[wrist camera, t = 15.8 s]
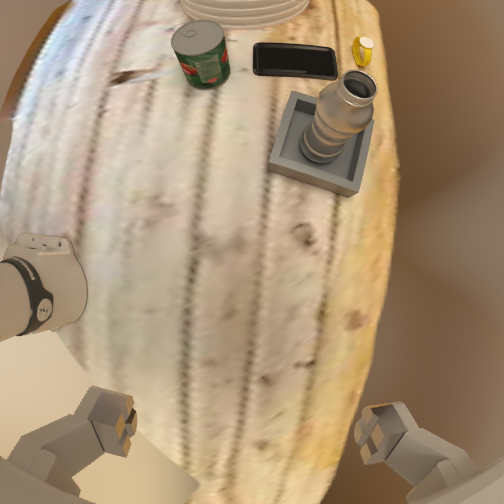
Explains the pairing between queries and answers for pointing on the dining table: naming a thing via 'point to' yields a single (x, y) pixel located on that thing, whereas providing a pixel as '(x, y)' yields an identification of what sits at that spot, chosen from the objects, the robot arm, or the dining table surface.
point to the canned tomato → (202, 53)
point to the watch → (367, 46)
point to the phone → (294, 61)
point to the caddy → (303, 169)
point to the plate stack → (245, 12)
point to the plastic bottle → (339, 116)
